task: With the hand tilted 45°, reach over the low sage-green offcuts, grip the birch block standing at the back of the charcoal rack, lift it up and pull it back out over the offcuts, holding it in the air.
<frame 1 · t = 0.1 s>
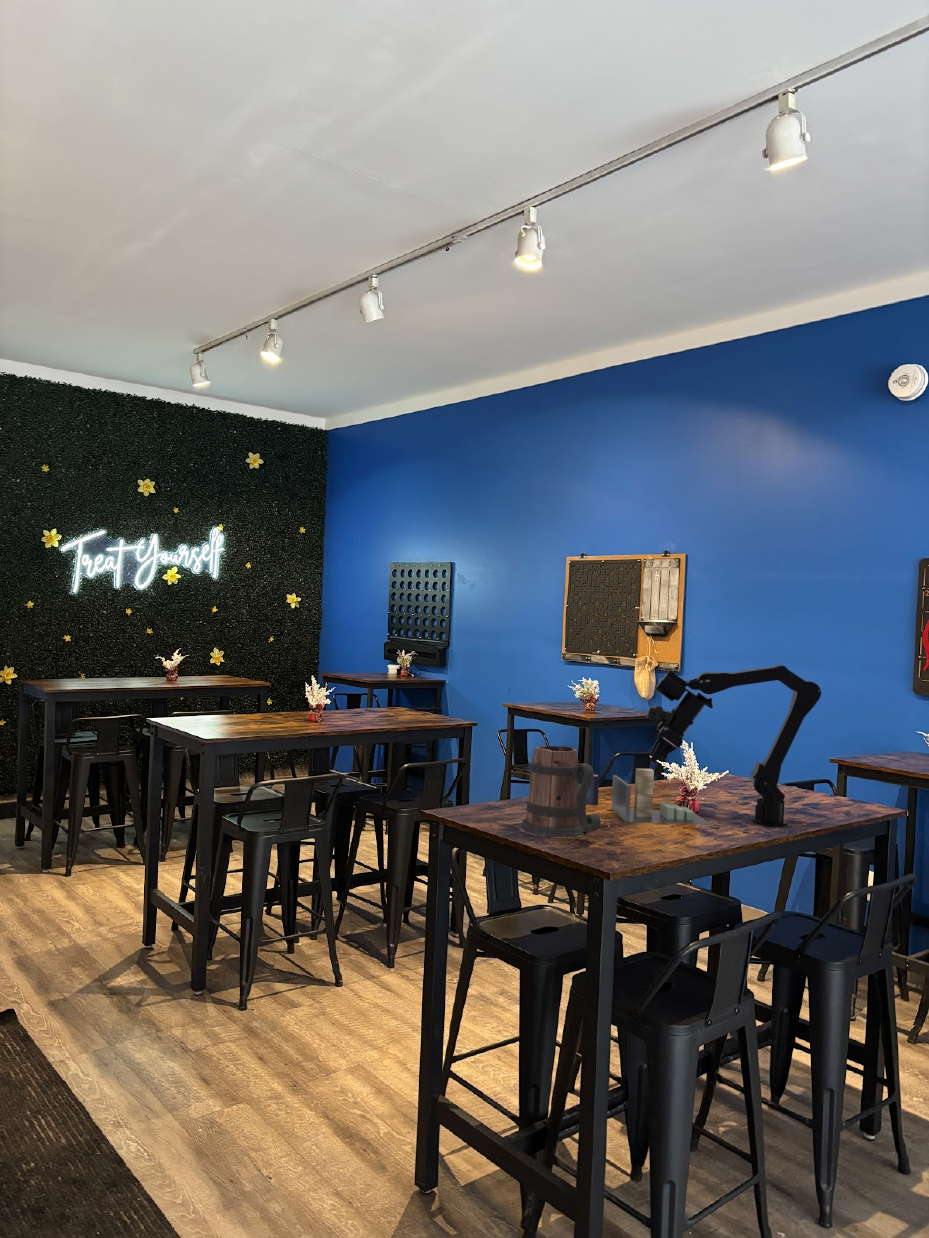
hand: (651, 758, 250), 15 cm above the table, tool tilted 35°, fingers open, 9 cm apart
birch block: (642, 815, 242), point 1 cm above the table, touching rack
rack: (659, 820, 242), on the table
flask: (581, 806, 256), on the table
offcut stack: (659, 820, 242), resting on rack
tankard: (561, 834, 222), on the table
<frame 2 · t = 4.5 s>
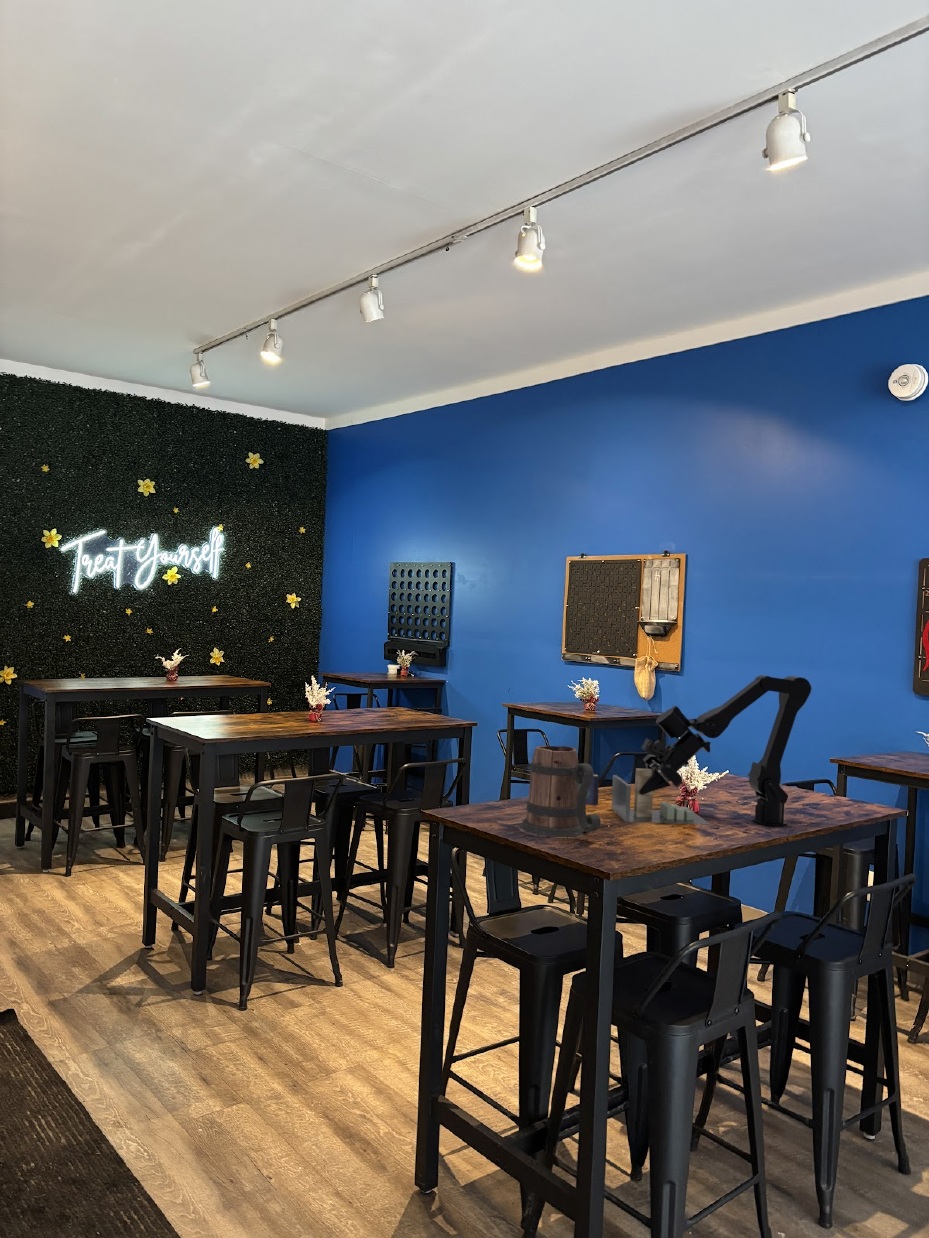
hand: (638, 792, 242), 7 cm above the table, tool tilted 45°, fingers closed on birch block, 3 cm apart
birch block: (642, 815, 242), point 1 cm above the table, touching gripper, rack
everything else where it was.
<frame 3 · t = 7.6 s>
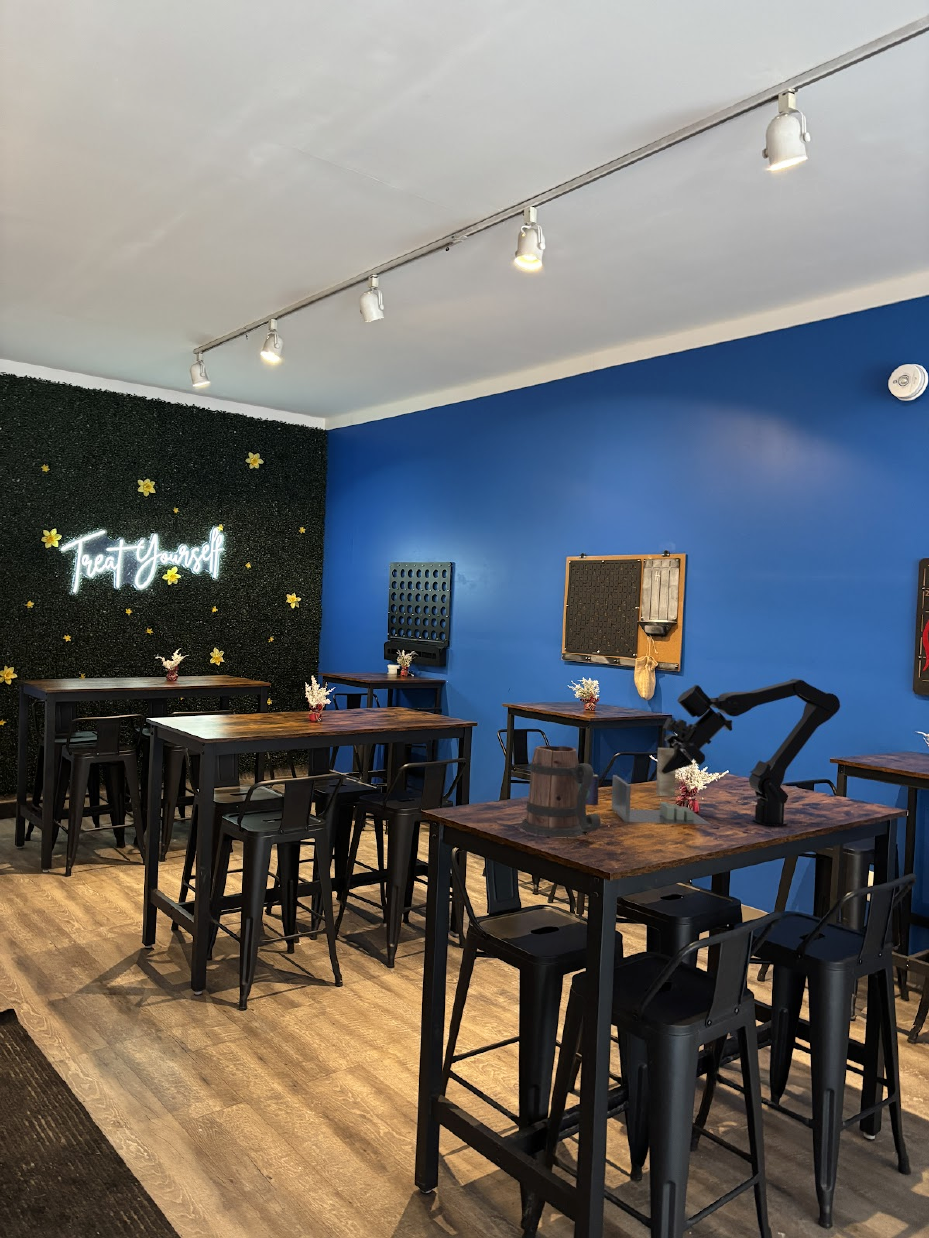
hand: (661, 771, 242), 13 cm above the table, tool tilted 45°, fingers closed on birch block, 3 cm apart
birch block: (665, 794, 242), point 7 cm above the table, touching gripper
everything else where it was.
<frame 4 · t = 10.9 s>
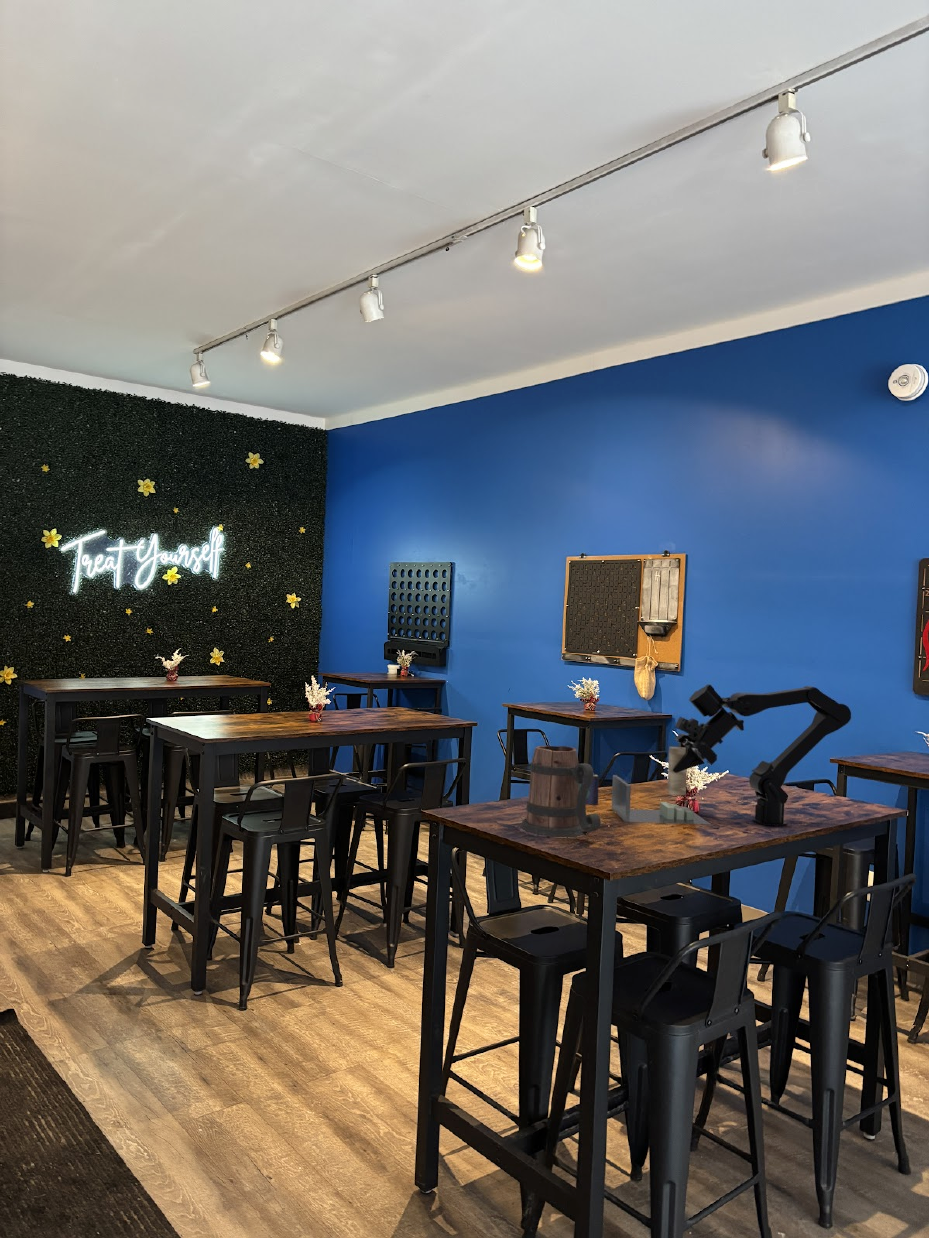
hand: (672, 770, 242), 13 cm above the table, tool tilted 45°, fingers closed on birch block, 3 cm apart
birch block: (676, 793, 242), point 7 cm above the table, touching gripper
everything else where it was.
at the end: the gripper is holding birch block; birch block point 7.0 cm above the table; birch block moved 10.5 cm from its start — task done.
